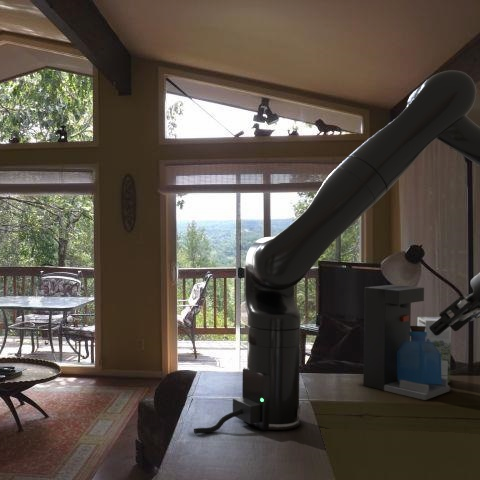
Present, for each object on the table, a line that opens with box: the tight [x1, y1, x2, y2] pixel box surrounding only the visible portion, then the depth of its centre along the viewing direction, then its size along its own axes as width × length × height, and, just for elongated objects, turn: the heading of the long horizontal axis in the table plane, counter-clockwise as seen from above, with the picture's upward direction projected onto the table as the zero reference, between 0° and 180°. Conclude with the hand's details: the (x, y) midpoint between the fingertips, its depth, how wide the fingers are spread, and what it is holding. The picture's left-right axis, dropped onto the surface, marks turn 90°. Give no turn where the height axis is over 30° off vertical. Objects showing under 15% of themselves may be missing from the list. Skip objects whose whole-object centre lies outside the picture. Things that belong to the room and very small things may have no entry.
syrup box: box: [416, 316, 452, 384], centre depth 134 cm, size 6×6×14 cm
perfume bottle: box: [397, 325, 442, 384], centre depth 125 cm, size 6×6×12 cm
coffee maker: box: [362, 284, 451, 401], centre depth 126 cm, size 11×14×22 cm
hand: (442, 329), depth 120 cm, fingers open, 8 cm apart
